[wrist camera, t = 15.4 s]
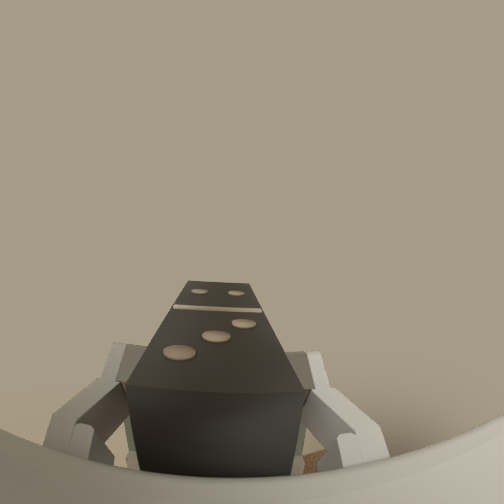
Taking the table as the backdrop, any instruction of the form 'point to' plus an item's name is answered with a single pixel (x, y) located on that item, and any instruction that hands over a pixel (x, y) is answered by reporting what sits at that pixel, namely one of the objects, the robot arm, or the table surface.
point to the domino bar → (215, 390)
